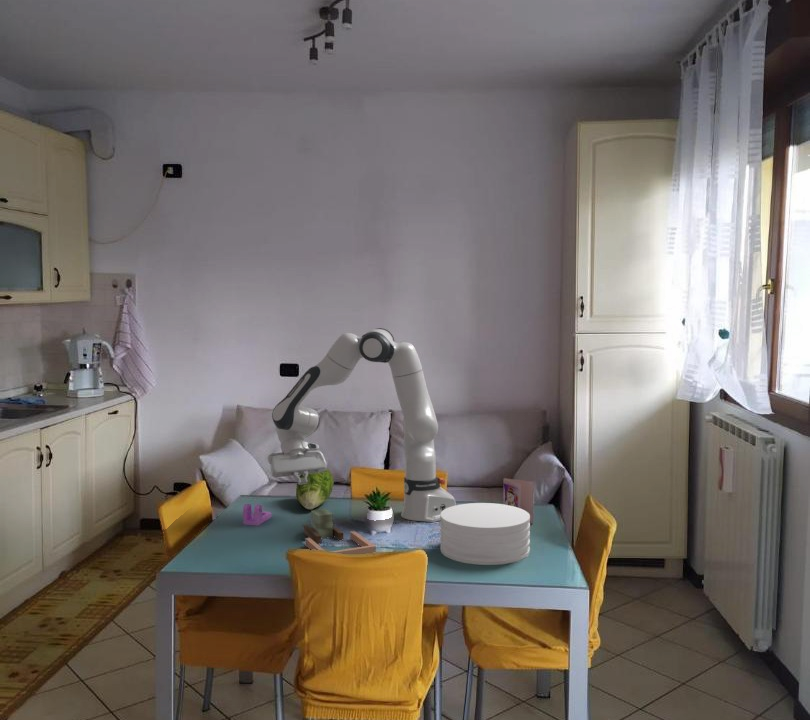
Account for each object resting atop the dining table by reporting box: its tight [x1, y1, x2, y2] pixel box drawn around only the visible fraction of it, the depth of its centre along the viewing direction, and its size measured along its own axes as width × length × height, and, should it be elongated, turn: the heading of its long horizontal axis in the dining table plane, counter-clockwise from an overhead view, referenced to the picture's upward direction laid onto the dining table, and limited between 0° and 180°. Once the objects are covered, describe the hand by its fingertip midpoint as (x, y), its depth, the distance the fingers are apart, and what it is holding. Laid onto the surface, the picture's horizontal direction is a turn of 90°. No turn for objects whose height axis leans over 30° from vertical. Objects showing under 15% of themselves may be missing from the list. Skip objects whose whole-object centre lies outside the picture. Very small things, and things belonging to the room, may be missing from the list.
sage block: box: [310, 508, 334, 539], centre depth 264 cm, size 5×7×8 cm
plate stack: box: [439, 502, 531, 566], centre depth 249 cm, size 28×28×12 cm
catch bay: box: [304, 530, 377, 554], centre depth 250 cm, size 17×18×2 cm
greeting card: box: [502, 477, 534, 525], centre depth 278 cm, size 11×7×15 cm, turn 23°
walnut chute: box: [302, 524, 345, 545], centre depth 264 cm, size 9×14×2 cm, turn 26°
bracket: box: [242, 503, 272, 526], centre depth 284 cm, size 13×6×7 cm, turn 165°
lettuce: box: [295, 468, 335, 510], centre depth 302 cm, size 14×23×13 cm, turn 177°
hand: (303, 483), depth 281 cm, fingers closed
